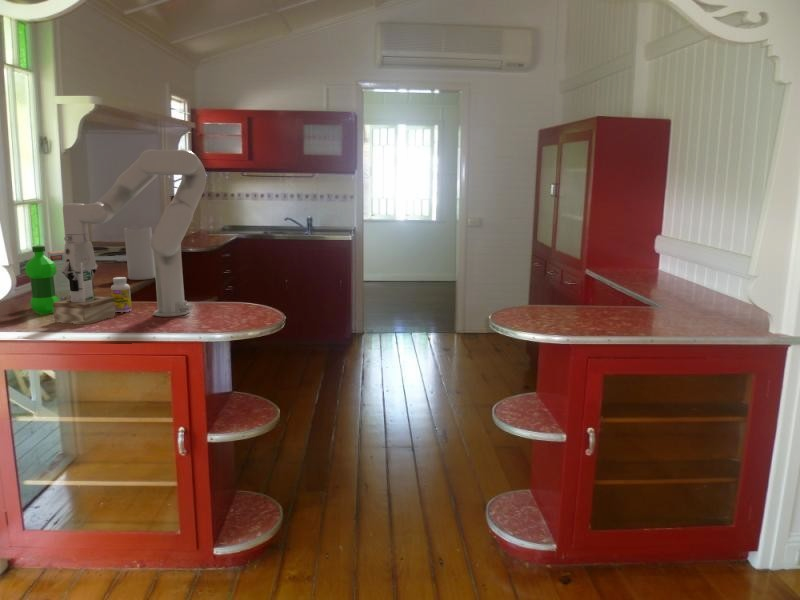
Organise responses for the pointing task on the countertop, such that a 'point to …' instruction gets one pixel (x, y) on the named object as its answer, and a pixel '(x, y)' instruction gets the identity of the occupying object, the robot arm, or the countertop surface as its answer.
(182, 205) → the robot arm
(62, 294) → the cracker box
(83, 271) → the syrup box
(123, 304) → the supplement bottle
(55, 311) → the wooden box
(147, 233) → the cylinder vase
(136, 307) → the countertop surface
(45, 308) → the plastic bottle
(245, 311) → the countertop surface
